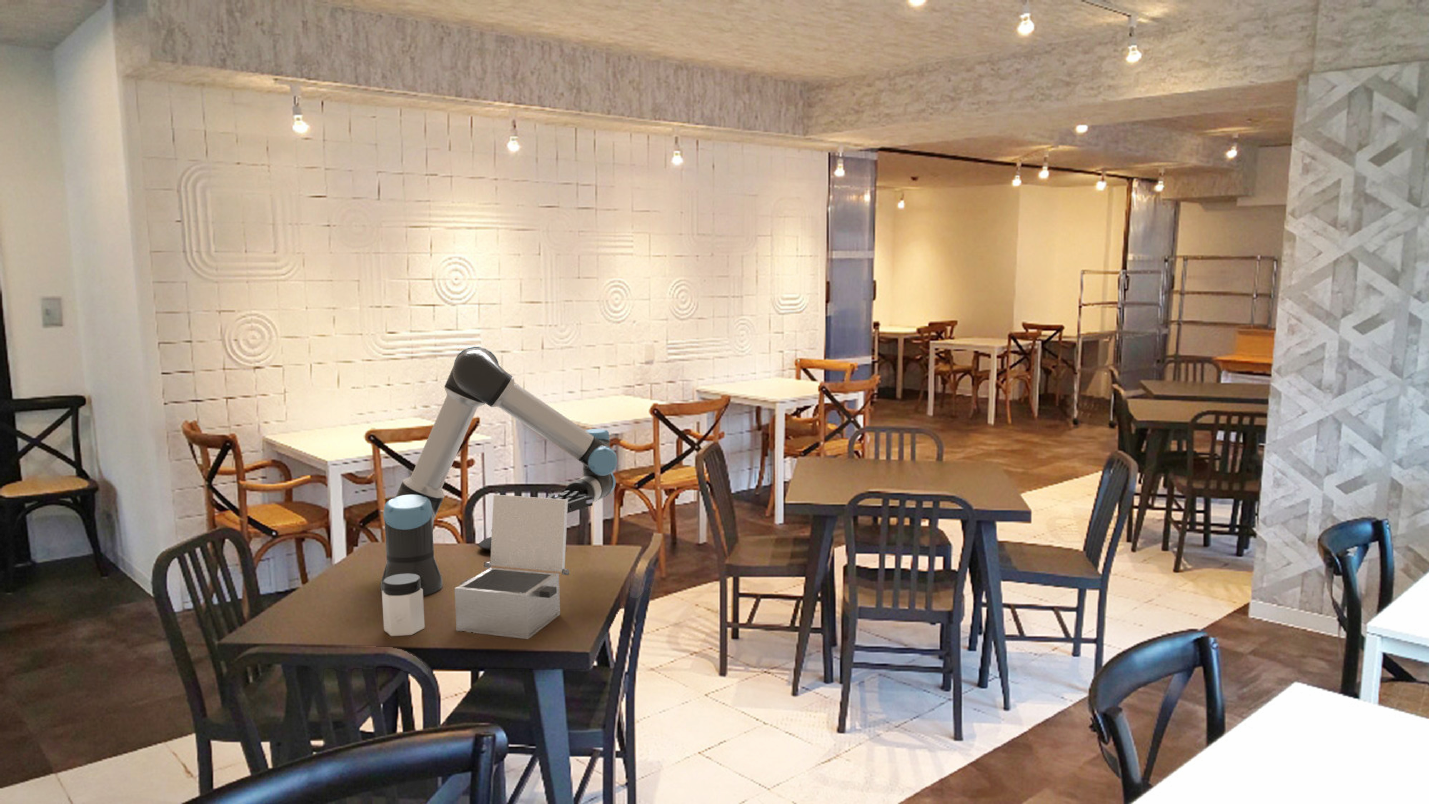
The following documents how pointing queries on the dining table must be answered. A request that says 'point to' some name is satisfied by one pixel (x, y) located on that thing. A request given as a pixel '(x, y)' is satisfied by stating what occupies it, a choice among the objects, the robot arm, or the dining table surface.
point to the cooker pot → (507, 602)
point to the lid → (529, 532)
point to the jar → (403, 604)
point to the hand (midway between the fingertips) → (542, 514)
